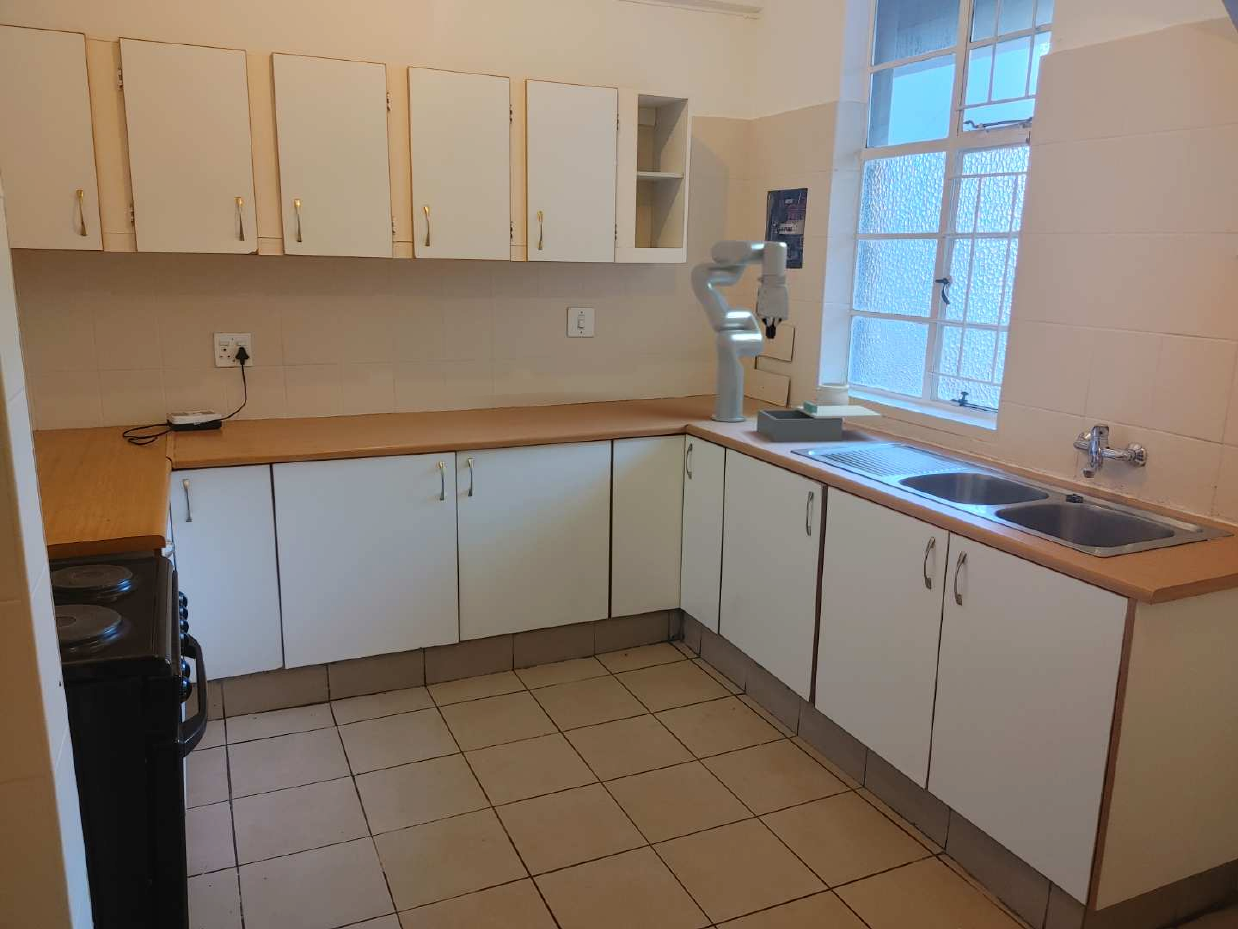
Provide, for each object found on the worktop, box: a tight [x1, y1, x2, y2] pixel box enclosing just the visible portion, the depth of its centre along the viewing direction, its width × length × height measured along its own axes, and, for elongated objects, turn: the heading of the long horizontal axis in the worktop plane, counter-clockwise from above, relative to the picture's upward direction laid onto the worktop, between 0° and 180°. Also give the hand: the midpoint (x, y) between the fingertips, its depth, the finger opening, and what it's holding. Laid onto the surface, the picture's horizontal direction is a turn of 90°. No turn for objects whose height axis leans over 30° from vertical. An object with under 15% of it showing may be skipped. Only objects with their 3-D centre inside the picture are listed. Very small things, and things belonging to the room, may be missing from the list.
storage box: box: [756, 409, 844, 443], centre depth 295 cm, size 18×22×8 cm
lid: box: [795, 401, 883, 419], centre depth 295 cm, size 18×22×3 cm
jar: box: [816, 382, 850, 428], centre depth 313 cm, size 11×10×15 cm
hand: (770, 338), depth 299 cm, fingers closed
